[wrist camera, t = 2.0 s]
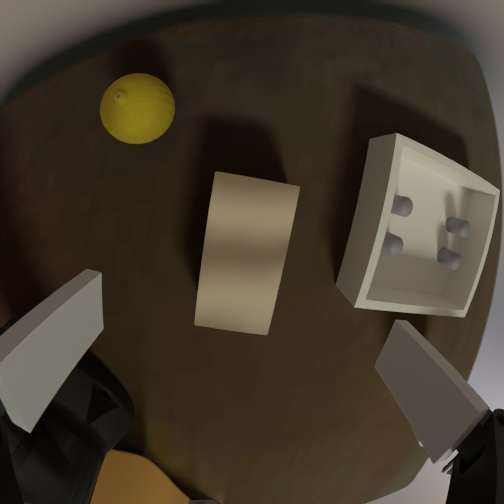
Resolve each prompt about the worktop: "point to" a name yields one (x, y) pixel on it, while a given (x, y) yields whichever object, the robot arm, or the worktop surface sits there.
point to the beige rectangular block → (244, 252)
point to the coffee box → (202, 502)
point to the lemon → (137, 108)
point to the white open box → (417, 231)
